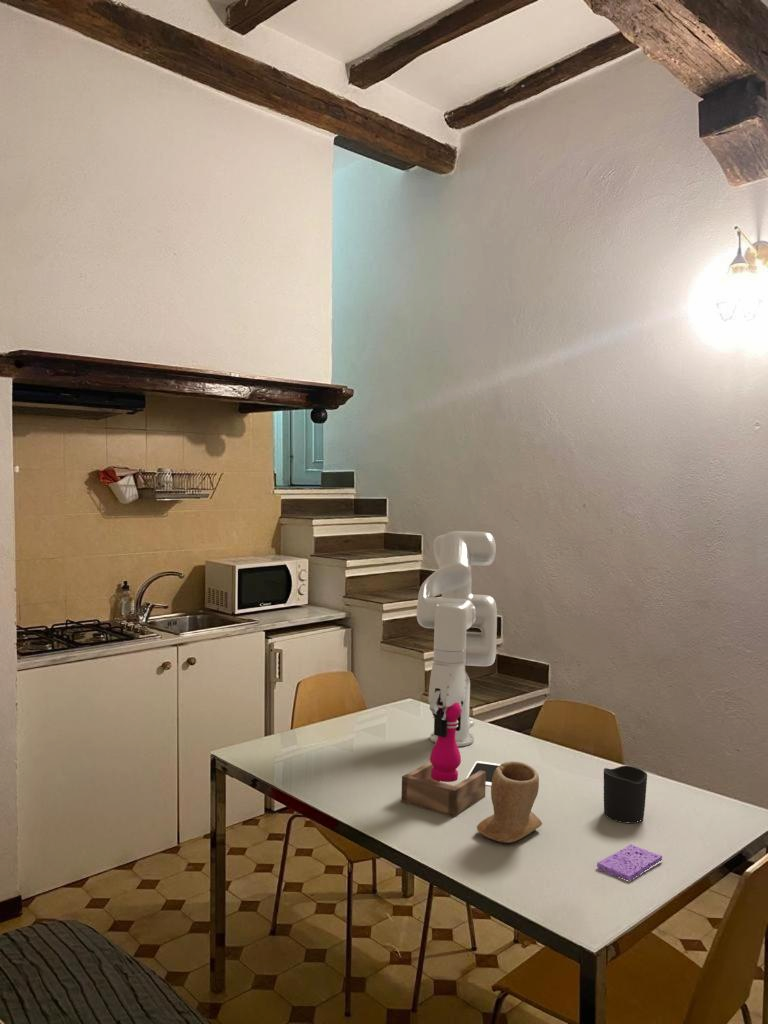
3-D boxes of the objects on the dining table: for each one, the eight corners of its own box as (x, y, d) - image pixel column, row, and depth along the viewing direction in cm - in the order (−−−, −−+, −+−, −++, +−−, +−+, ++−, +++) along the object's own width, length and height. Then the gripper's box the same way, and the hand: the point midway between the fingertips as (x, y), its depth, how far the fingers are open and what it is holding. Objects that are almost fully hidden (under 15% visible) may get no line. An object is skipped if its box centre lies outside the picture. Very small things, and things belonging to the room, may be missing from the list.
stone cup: (515, 854, 159) (518, 780, 158) (469, 835, 167) (471, 764, 167) (556, 832, 170) (559, 763, 169) (511, 815, 178) (513, 749, 178)
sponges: (662, 864, 157) (662, 855, 157) (628, 885, 149) (629, 875, 149) (630, 852, 162) (630, 843, 162) (596, 871, 154) (596, 861, 154)
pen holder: (644, 827, 173) (646, 782, 173) (600, 820, 177) (602, 776, 176) (646, 811, 182) (647, 768, 182) (604, 804, 185) (605, 762, 185)
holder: (434, 782, 196) (435, 758, 196) (485, 796, 188) (485, 771, 188) (401, 801, 184) (402, 776, 184) (454, 817, 176) (454, 790, 176)
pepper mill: (459, 774, 189) (464, 690, 189) (459, 784, 181) (465, 696, 182) (429, 772, 189) (434, 688, 190) (428, 781, 182) (433, 694, 183)
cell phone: (463, 783, 197) (463, 781, 197) (476, 763, 212) (476, 760, 212) (494, 788, 195) (494, 785, 195) (505, 767, 210) (505, 764, 210)
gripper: (453, 648, 195) (451, 721, 195) (416, 659, 180) (414, 738, 181) (480, 652, 190) (478, 727, 191) (445, 664, 176) (442, 745, 177)
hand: (447, 732), depth 186 cm, fingers closed on pepper mill, 5 cm apart
